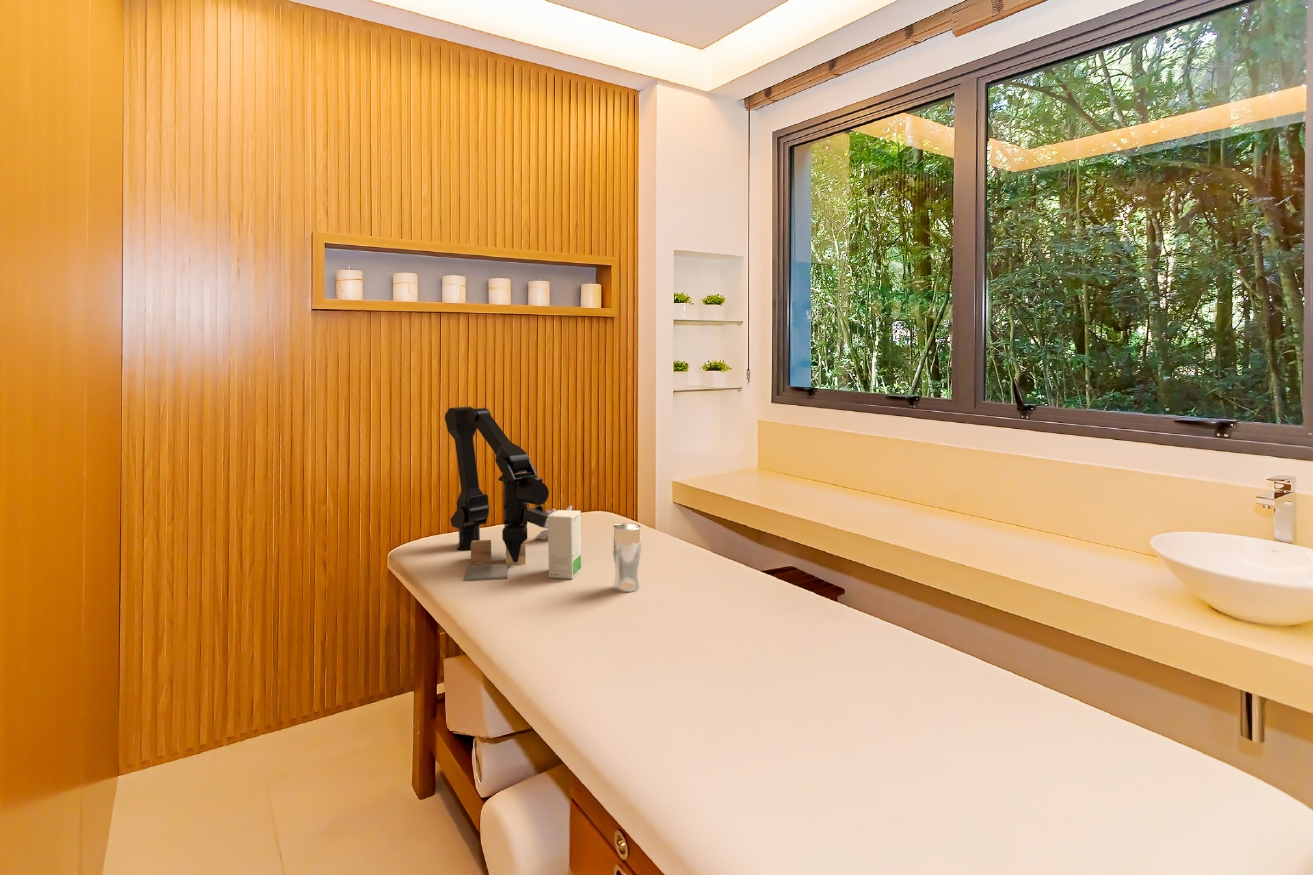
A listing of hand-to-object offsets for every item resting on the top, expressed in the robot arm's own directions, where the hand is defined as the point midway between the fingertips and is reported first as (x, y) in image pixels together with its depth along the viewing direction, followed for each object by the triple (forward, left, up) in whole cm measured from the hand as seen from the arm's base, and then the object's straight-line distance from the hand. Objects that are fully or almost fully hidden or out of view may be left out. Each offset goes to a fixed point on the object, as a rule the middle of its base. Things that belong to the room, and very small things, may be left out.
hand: (515, 557), depth 191 cm
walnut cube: (-2, -9, -1) cm, 9 cm away
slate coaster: (+9, -7, -1) cm, 11 cm away
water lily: (-21, +12, -1) cm, 24 cm away
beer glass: (+25, +26, -1) cm, 36 cm away
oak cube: (0, 0, -1) cm, 1 cm away
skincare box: (+12, +12, -1) cm, 17 cm away
